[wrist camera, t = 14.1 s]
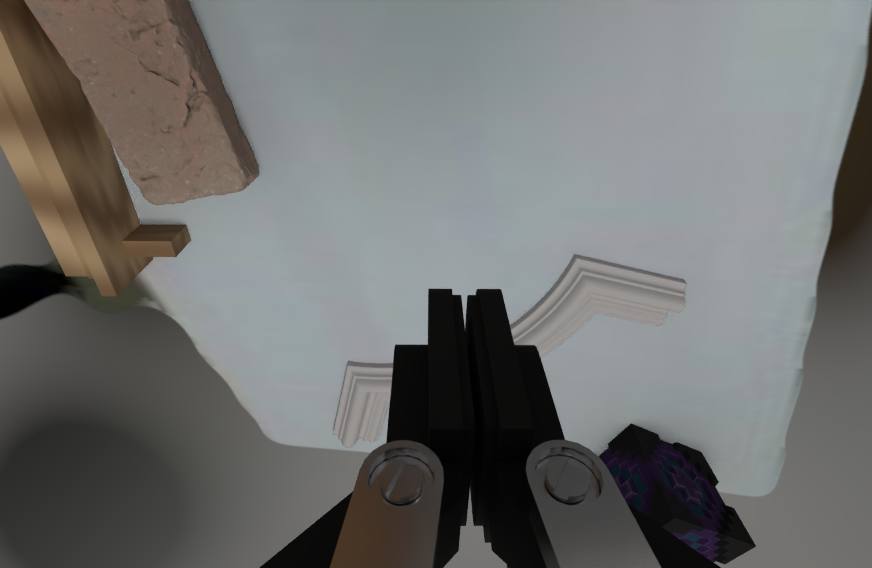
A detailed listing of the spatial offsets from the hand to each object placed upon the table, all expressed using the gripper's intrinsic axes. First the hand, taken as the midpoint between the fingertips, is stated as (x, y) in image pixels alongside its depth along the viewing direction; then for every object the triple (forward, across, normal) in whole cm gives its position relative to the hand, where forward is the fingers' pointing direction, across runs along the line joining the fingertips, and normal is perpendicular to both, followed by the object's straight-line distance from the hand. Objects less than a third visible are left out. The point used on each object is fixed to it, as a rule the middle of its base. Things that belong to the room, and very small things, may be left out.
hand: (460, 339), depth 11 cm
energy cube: (+29, -27, +46) cm, 61 cm away
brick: (+30, +20, 0) cm, 36 cm away
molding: (+30, -6, +28) cm, 41 cm away
